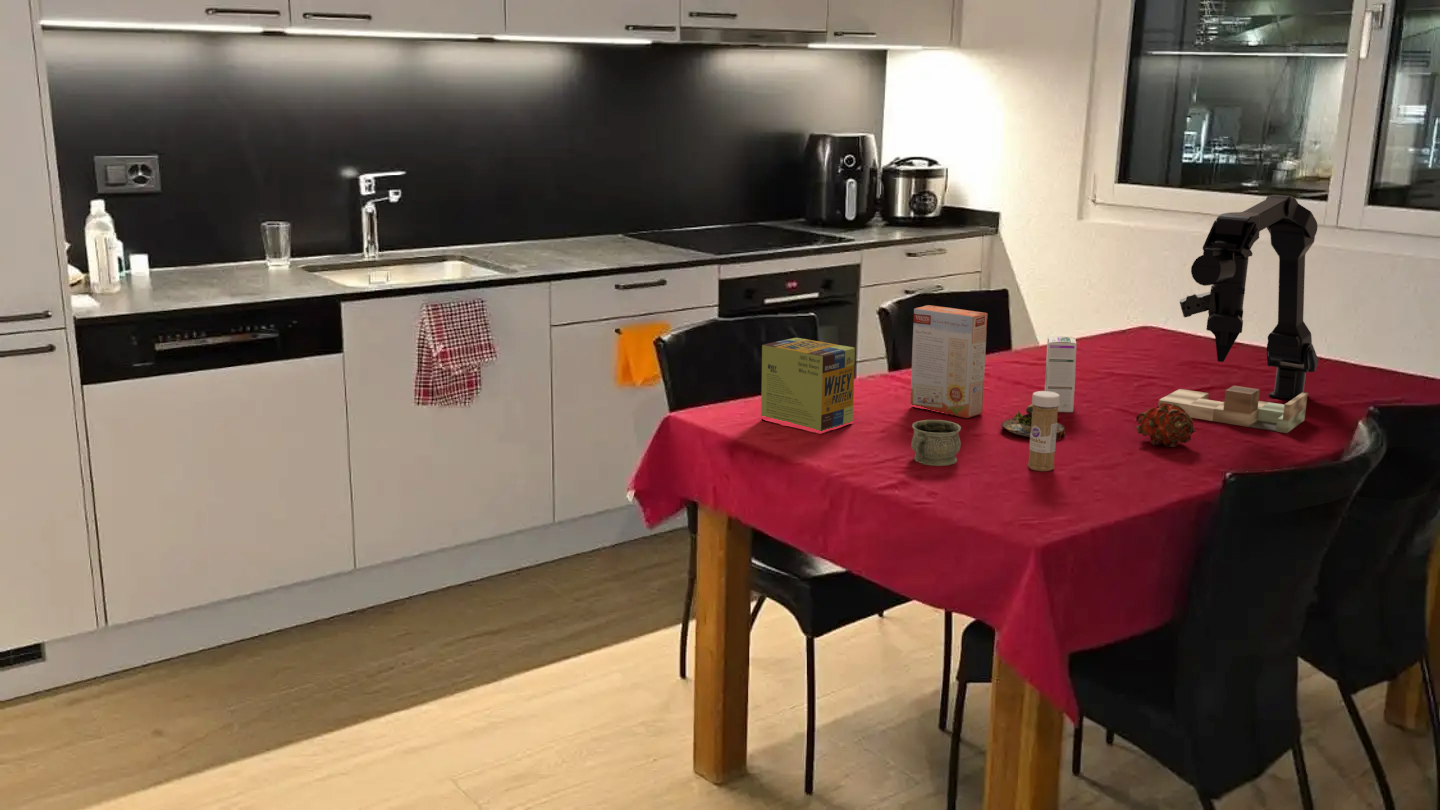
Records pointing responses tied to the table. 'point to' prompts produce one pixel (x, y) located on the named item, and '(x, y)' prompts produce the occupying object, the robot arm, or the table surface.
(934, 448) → the vessel
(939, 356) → the cracker box
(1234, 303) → the robot arm
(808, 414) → the protein box
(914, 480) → the table surface
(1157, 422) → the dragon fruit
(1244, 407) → the walnut block
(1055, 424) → the sprinkles bottle
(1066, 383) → the syrup box
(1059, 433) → the plate with green herbs
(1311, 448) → the table surface
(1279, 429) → the trap deck
